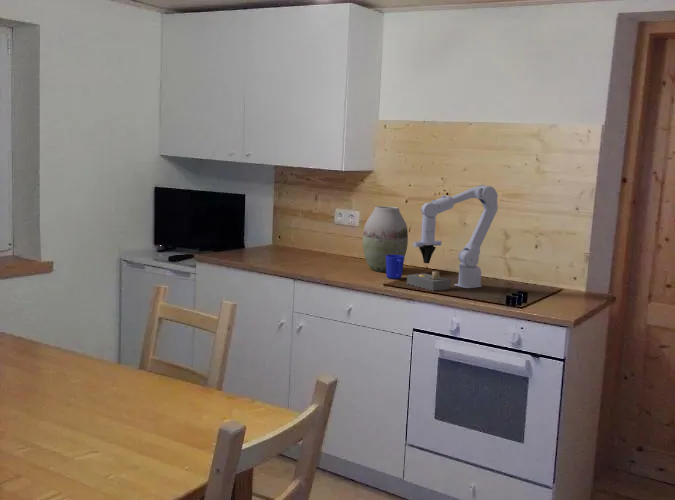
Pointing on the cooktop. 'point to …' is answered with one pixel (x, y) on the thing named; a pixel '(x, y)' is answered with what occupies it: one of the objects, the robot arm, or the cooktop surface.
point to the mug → (394, 266)
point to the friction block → (428, 282)
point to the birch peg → (435, 275)
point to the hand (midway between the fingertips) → (426, 263)
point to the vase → (384, 236)
